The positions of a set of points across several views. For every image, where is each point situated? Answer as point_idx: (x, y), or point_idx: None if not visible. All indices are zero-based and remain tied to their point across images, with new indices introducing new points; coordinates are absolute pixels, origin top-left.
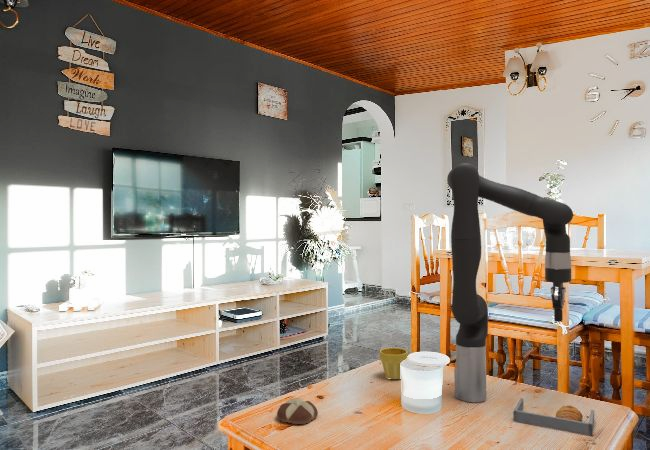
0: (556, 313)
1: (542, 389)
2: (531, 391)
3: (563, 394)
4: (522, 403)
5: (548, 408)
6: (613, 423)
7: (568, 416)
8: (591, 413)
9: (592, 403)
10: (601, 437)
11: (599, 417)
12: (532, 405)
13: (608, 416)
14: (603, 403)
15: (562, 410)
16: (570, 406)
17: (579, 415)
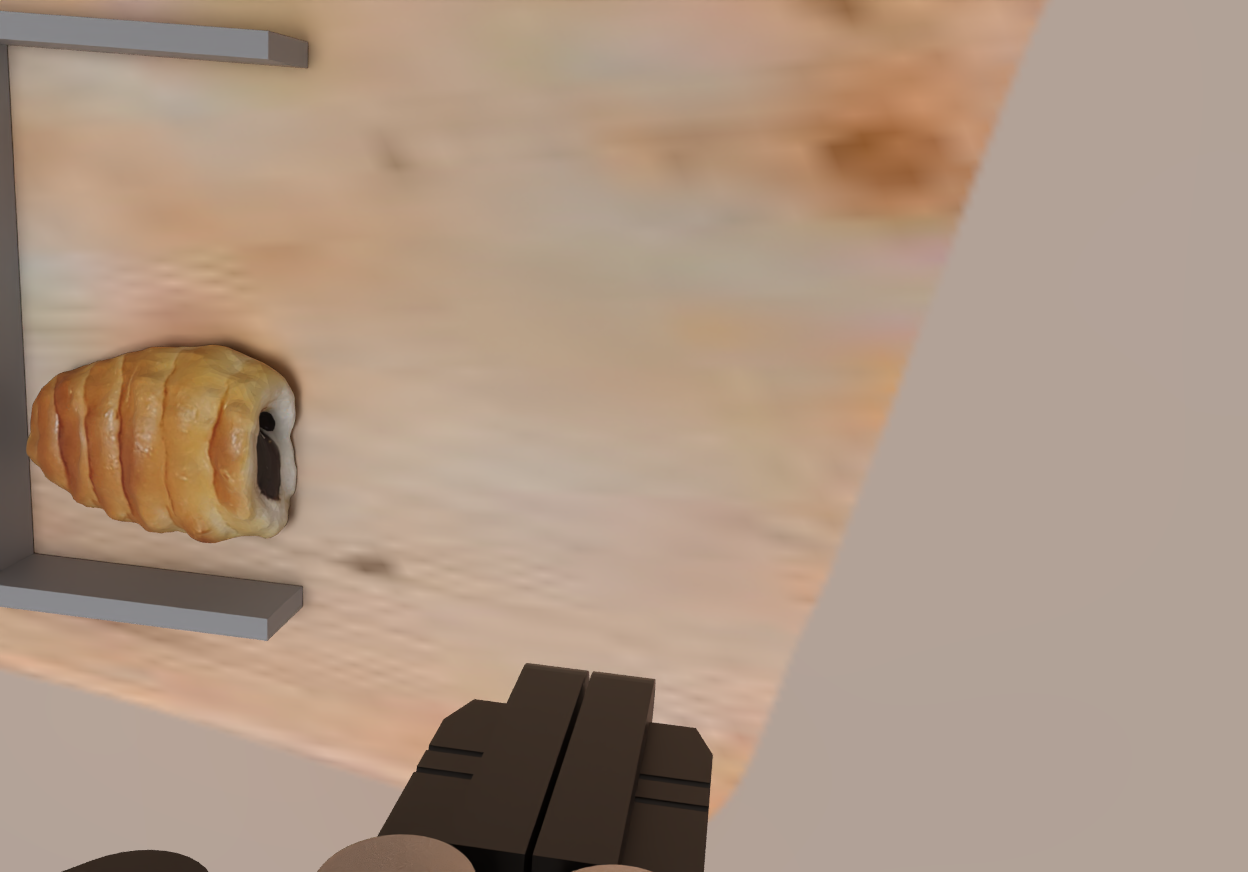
0: (398, 830)
1: (945, 203)
2: (834, 98)
3: (859, 401)
4: (232, 58)
5: (414, 278)
6: (320, 723)
7: (79, 446)
8: (185, 615)
9: (704, 625)
10: (27, 623)
11: (395, 646)
12: (426, 139)
13: (447, 708)
14: (741, 706)
15: (139, 407)
16: (220, 473)
17: (145, 525)
